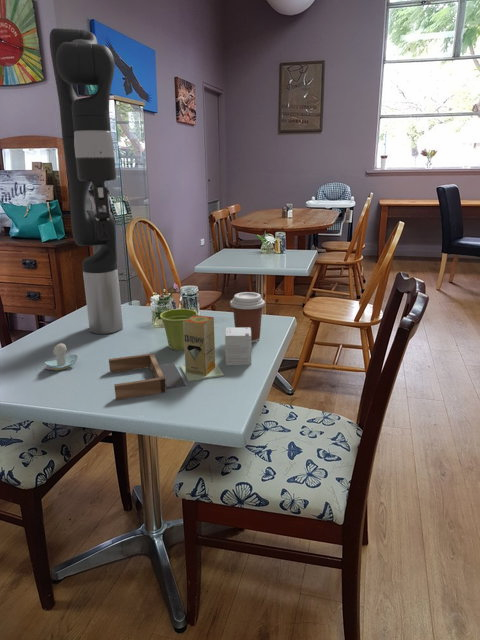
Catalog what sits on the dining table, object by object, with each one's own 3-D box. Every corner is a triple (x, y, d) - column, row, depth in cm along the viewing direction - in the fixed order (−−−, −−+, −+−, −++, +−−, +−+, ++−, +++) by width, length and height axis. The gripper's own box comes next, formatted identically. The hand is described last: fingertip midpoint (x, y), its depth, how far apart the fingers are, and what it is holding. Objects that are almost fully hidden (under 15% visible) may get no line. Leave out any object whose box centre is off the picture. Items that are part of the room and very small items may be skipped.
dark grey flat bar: (157, 367, 112) (157, 366, 112) (174, 364, 113) (174, 363, 113) (167, 388, 101) (166, 387, 101) (185, 385, 102) (185, 384, 102)
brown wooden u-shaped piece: (109, 371, 110) (108, 359, 109) (153, 365, 113) (153, 353, 112) (116, 400, 96) (114, 386, 95) (166, 392, 99) (165, 378, 98)
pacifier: (40, 368, 112) (50, 375, 108) (36, 343, 111) (46, 349, 106) (70, 360, 117) (81, 366, 113) (66, 335, 115) (77, 341, 111)
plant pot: (192, 354, 119) (191, 320, 116) (156, 351, 121) (154, 318, 118) (203, 341, 128) (202, 309, 125) (169, 339, 130) (167, 308, 127)
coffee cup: (266, 334, 133) (267, 291, 129) (262, 345, 124) (262, 300, 120) (234, 332, 134) (233, 290, 130) (227, 344, 126) (226, 299, 122)
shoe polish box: (195, 364, 112) (193, 314, 108) (215, 367, 110) (213, 317, 106) (185, 372, 108) (183, 321, 104) (205, 375, 106) (203, 323, 102)
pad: (180, 367, 111) (180, 365, 111) (213, 362, 114) (213, 361, 114) (188, 381, 104) (188, 379, 104) (223, 375, 107) (223, 374, 106)
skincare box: (226, 355, 118) (225, 327, 116) (251, 355, 118) (250, 326, 116) (225, 365, 112) (224, 335, 110) (251, 365, 112) (251, 335, 110)
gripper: (117, 155, 92) (125, 240, 97) (111, 156, 104) (118, 232, 109) (76, 155, 89) (85, 243, 94) (74, 156, 102) (83, 234, 107)
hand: (103, 237), depth 102 cm, fingers open, 8 cm apart
